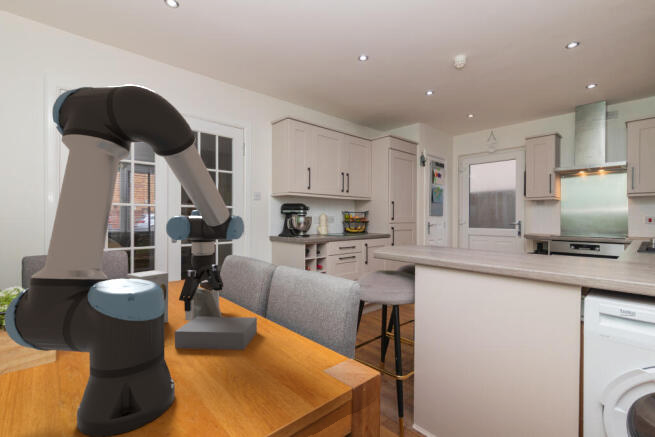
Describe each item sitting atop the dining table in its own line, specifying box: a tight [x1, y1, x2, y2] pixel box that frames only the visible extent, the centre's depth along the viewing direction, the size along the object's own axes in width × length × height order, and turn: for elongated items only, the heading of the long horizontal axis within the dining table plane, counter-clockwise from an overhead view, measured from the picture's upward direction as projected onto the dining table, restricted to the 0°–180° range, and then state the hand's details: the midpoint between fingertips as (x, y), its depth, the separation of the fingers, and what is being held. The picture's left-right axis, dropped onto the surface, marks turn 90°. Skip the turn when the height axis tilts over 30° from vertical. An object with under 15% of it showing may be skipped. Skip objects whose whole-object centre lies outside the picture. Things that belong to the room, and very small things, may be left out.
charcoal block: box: [174, 316, 258, 351], centre depth 87 cm, size 12×19×5 cm, turn 87°
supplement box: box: [126, 269, 169, 324], centre depth 100 cm, size 10×9×17 cm
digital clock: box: [192, 286, 223, 318], centre depth 105 cm, size 16×9×11 cm, turn 39°
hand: (203, 313), depth 106 cm, fingers open, 13 cm apart
